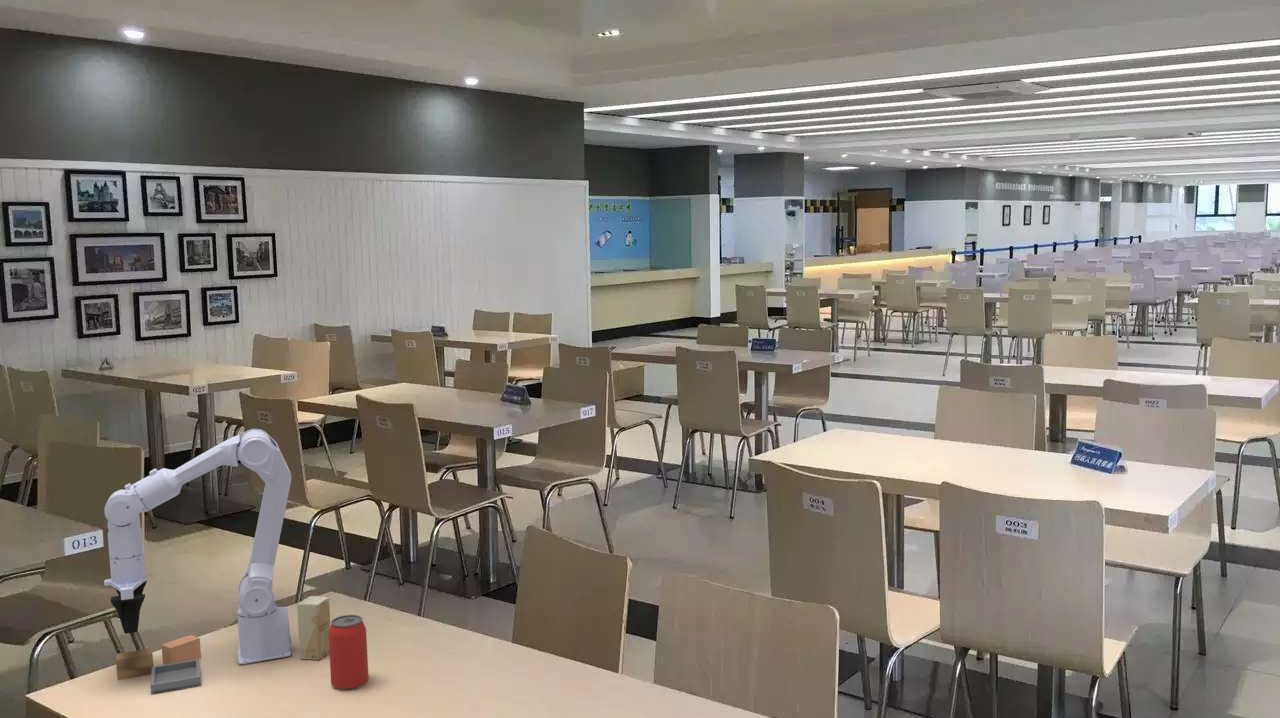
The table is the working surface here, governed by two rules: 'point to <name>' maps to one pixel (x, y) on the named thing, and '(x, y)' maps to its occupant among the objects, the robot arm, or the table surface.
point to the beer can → (348, 652)
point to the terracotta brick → (181, 650)
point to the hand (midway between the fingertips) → (131, 625)
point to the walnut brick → (134, 664)
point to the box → (314, 627)
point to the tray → (175, 676)
